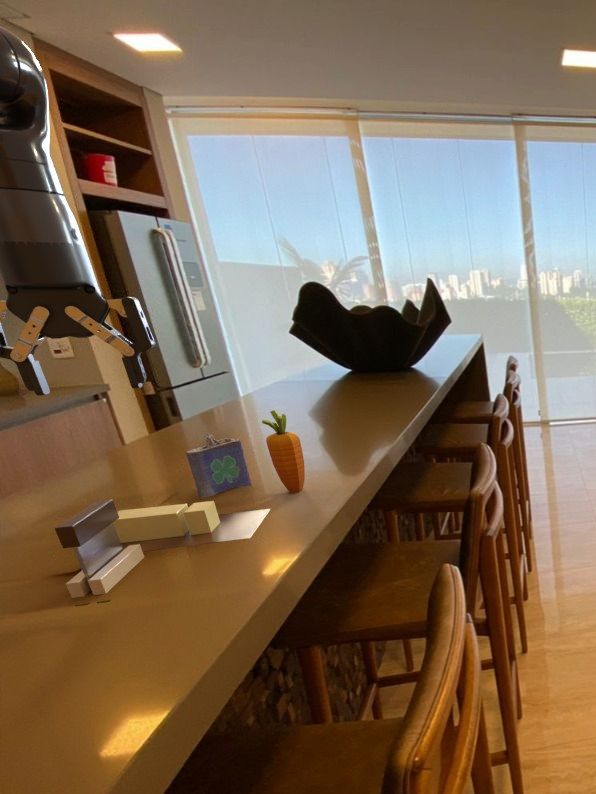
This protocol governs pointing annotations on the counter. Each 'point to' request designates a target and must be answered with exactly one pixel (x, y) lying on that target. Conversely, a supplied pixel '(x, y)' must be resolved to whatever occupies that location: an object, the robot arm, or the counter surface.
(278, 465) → the carrot
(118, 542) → the dough scraper
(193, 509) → the butter slice
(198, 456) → the flask
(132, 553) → the rest
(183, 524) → the butter
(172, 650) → the counter surface
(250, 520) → the board
